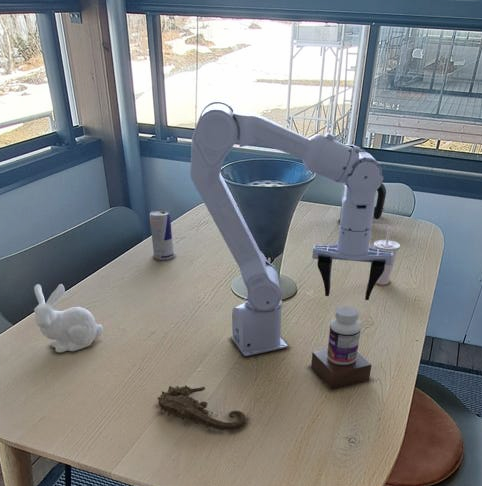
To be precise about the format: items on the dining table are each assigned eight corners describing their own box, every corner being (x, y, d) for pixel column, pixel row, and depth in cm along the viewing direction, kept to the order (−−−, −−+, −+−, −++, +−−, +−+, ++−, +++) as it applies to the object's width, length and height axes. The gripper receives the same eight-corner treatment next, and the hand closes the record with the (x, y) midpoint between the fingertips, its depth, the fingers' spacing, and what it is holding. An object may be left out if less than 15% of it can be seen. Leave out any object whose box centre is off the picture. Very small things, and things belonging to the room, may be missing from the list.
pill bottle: (325, 350, 100) (330, 303, 94) (354, 350, 99) (361, 303, 94) (328, 365, 95) (333, 317, 89) (357, 366, 95) (365, 318, 89)
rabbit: (45, 358, 103) (30, 302, 96) (40, 336, 109) (25, 283, 102) (108, 345, 107) (98, 291, 100) (98, 325, 114) (88, 272, 106)
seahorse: (211, 447, 82) (210, 432, 80) (146, 404, 91) (144, 389, 89) (251, 421, 88) (251, 406, 86) (186, 383, 97) (185, 368, 95)
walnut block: (331, 389, 95) (333, 373, 93) (311, 367, 101) (312, 351, 99) (369, 380, 98) (371, 364, 96) (347, 359, 104) (349, 343, 102)
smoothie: (365, 284, 132) (373, 228, 124) (371, 274, 137) (379, 220, 129) (391, 288, 130) (401, 232, 122) (395, 278, 135) (405, 224, 127)
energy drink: (177, 255, 146) (174, 211, 139) (165, 262, 142) (160, 217, 135) (162, 251, 148) (158, 208, 141) (150, 257, 145) (145, 213, 138)
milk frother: (337, 226, 167) (342, 177, 158) (339, 211, 180) (344, 165, 171) (382, 229, 166) (390, 179, 157) (381, 214, 178) (388, 167, 169)
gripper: (396, 222, 97) (385, 291, 105) (318, 216, 99) (312, 284, 107) (396, 235, 91) (384, 306, 99) (313, 228, 93) (308, 298, 101)
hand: (347, 296), depth 103 cm, fingers open, 7 cm apart
